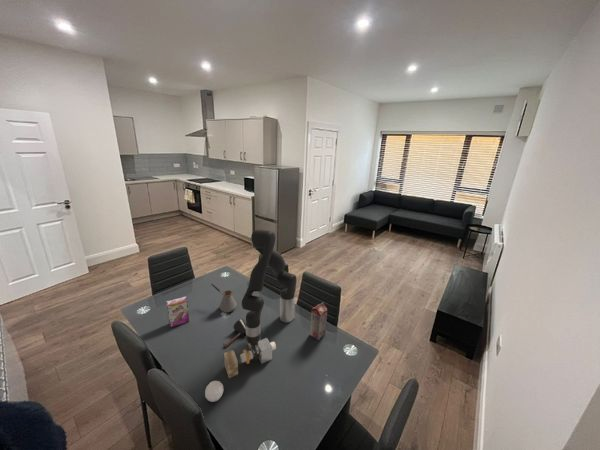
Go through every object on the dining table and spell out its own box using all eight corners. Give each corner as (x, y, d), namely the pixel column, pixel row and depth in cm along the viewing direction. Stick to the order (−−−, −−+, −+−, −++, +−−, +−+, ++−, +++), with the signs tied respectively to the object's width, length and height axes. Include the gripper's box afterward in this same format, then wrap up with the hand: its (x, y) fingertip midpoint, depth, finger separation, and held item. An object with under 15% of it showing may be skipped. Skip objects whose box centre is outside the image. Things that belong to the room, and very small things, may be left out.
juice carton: (325, 334, 148) (328, 304, 141) (318, 340, 143) (321, 309, 136) (316, 329, 152) (319, 299, 145) (309, 334, 147) (312, 303, 141)
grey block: (266, 350, 135) (266, 337, 132) (272, 359, 129) (272, 346, 126) (256, 354, 132) (256, 341, 129) (261, 363, 126) (261, 350, 123)
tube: (271, 345, 136) (272, 336, 133) (277, 354, 130) (277, 344, 128) (239, 358, 126) (239, 348, 124) (243, 368, 121) (243, 358, 119)
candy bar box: (170, 328, 147) (166, 305, 142) (169, 323, 151) (165, 301, 146) (189, 322, 153) (187, 299, 148) (188, 317, 157) (185, 295, 152)
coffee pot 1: (240, 307, 169) (239, 288, 164) (228, 316, 159) (227, 297, 155) (218, 297, 178) (217, 279, 174) (205, 305, 169) (204, 287, 164)
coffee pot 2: (243, 324, 152) (251, 333, 147) (217, 342, 141) (225, 352, 136) (243, 316, 149) (251, 325, 144) (216, 334, 137) (224, 344, 132)
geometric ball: (219, 401, 109) (227, 395, 105) (202, 406, 104) (209, 400, 100) (218, 382, 114) (225, 376, 110) (201, 386, 109) (208, 380, 105)
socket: (233, 362, 126) (233, 349, 123) (238, 374, 120) (237, 360, 117) (225, 366, 123) (224, 353, 121) (228, 378, 117) (228, 364, 115)
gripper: (265, 337, 117) (265, 364, 123) (255, 320, 129) (255, 345, 134) (250, 343, 114) (251, 371, 119) (241, 324, 125) (242, 350, 130)
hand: (253, 357), depth 127 cm, fingers closed on tube, 4 cm apart
